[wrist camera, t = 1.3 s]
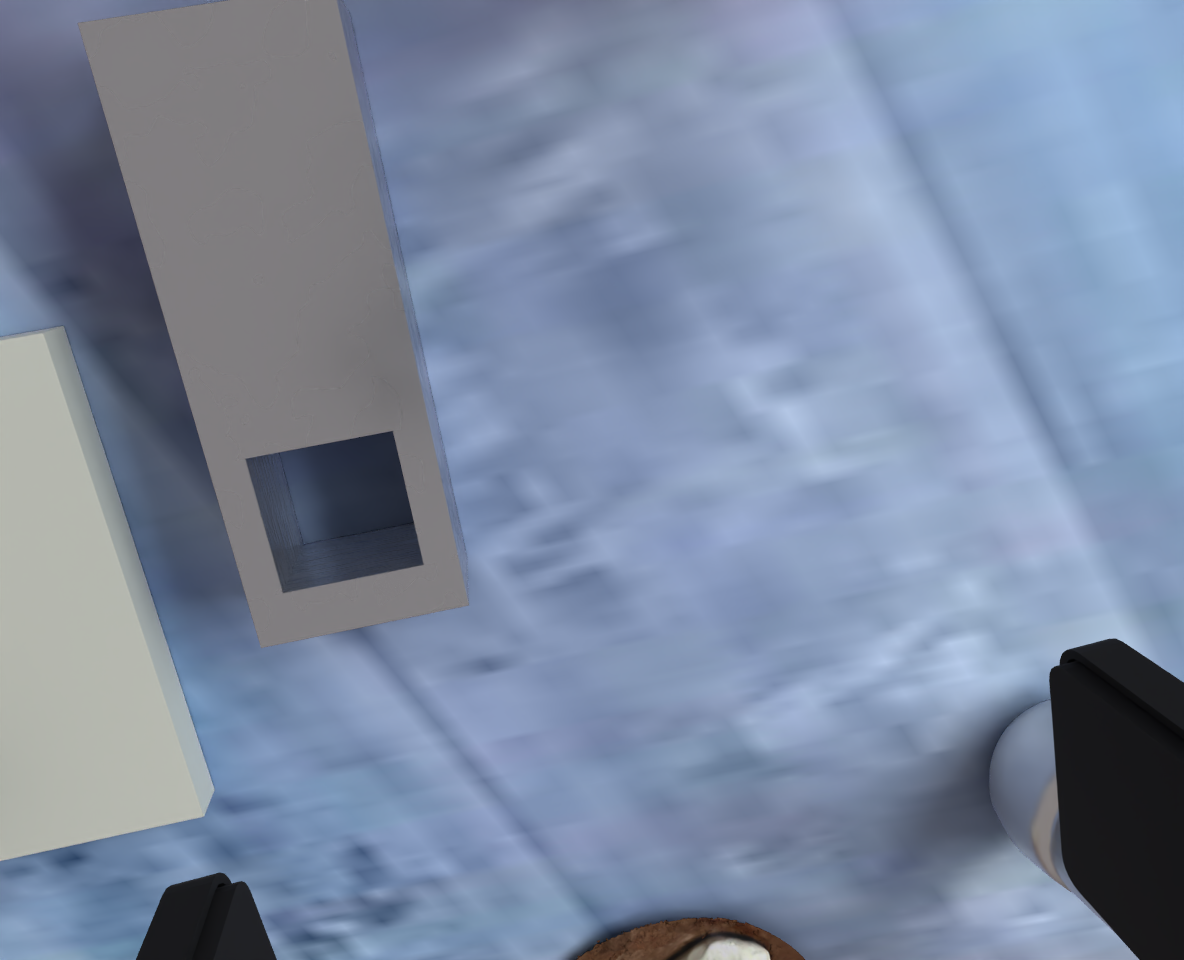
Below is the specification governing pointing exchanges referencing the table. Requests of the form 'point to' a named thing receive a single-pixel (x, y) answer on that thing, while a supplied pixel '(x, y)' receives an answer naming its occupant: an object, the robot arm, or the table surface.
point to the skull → (694, 942)
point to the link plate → (281, 292)
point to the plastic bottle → (1031, 792)
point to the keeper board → (78, 630)
